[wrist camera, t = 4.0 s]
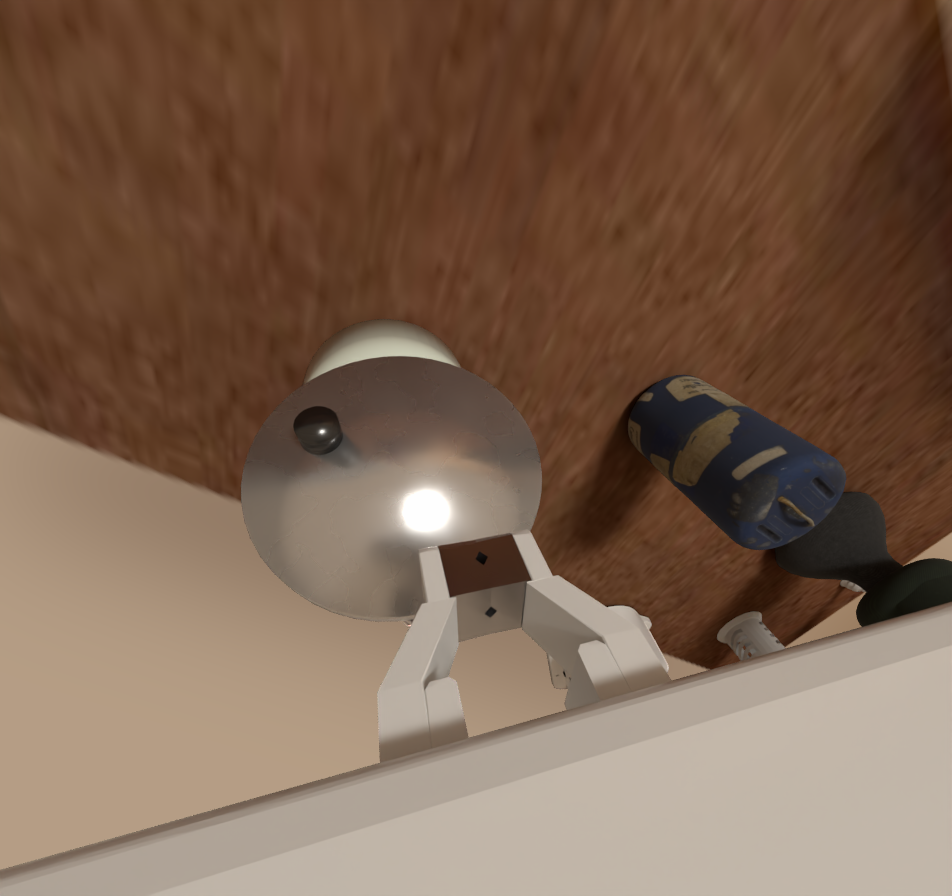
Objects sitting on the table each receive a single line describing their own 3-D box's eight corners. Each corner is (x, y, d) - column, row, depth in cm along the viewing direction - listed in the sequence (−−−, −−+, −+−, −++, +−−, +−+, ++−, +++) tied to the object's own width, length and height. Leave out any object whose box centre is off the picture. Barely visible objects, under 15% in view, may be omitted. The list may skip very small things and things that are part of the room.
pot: (485, 450, 42) (516, 515, 34) (300, 476, 38) (285, 556, 30) (487, 311, 34) (527, 353, 26) (255, 327, 30) (219, 382, 22)
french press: (767, 605, 78) (910, 754, 58) (753, 636, 85) (877, 779, 65) (721, 621, 77) (850, 778, 57) (711, 652, 84) (824, 802, 64)
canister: (640, 460, 48) (763, 583, 34) (607, 411, 43) (736, 531, 28) (710, 409, 46) (872, 515, 32) (684, 350, 41) (865, 446, 27)
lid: (575, 584, 18) (592, 571, 16) (238, 657, 16) (212, 651, 14) (499, 357, 25) (504, 330, 23) (257, 380, 23) (241, 352, 21)
